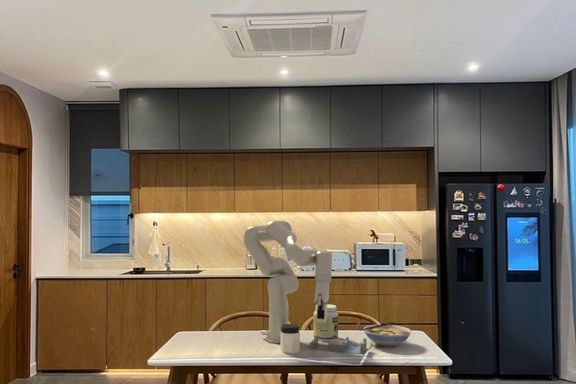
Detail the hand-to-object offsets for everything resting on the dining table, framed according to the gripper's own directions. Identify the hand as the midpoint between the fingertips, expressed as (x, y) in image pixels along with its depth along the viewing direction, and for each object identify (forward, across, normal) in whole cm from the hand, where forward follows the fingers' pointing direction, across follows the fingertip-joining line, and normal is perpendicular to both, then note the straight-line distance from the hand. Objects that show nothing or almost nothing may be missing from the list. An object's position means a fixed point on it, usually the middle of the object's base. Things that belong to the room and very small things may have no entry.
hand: (321, 317), depth 232 cm
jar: (+15, +11, -12) cm, 22 cm away
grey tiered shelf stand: (+14, 0, +8) cm, 17 cm away
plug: (+2, 0, 0) cm, 2 cm away
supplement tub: (+15, -17, -2) cm, 23 cm away
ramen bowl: (+14, -18, +28) cm, 37 cm away
